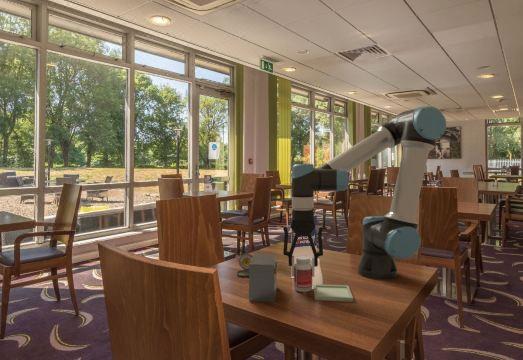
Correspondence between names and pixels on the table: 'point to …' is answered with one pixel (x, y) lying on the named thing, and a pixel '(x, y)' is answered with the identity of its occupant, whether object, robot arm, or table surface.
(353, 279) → the table surface
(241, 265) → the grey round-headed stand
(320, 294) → the pad
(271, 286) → the block
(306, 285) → the pill bottle
